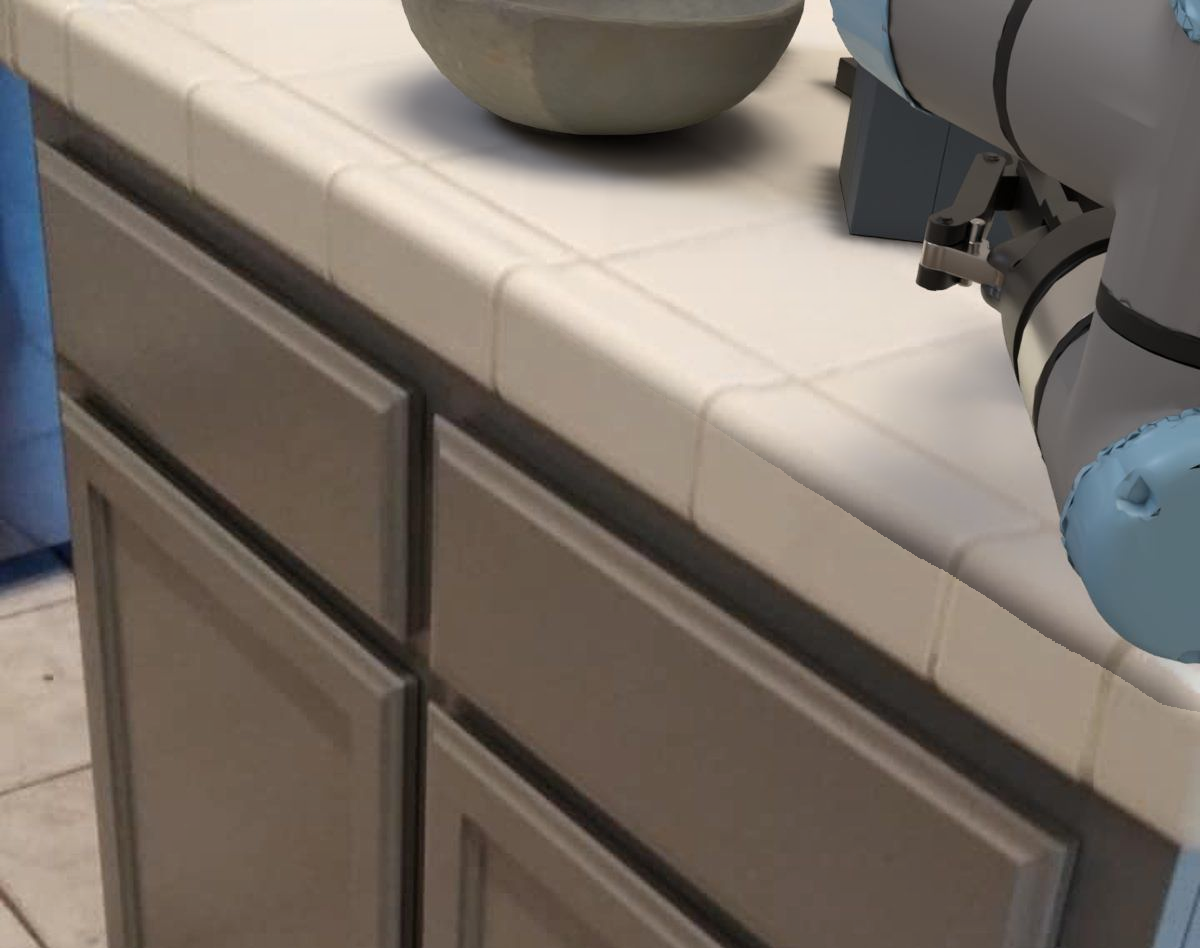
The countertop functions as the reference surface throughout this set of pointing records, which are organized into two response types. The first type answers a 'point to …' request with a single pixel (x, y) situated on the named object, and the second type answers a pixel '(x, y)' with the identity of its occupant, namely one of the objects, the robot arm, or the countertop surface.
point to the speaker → (903, 165)
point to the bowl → (605, 57)
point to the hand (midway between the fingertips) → (1035, 138)
